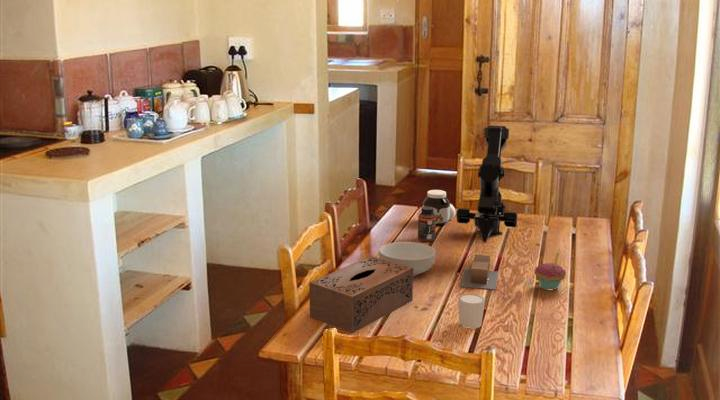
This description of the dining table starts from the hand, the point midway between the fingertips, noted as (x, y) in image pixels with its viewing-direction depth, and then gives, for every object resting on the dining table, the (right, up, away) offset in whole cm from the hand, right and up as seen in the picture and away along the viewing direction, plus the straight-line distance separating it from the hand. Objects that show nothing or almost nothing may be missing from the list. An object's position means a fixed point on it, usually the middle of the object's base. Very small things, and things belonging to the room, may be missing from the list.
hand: (484, 241), depth 230 cm
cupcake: (+16, -12, -17) cm, 26 cm away
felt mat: (-3, -10, -11) cm, 16 cm away
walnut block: (-1, -6, -5) cm, 8 cm away
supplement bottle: (-16, -1, +23) cm, 28 cm away
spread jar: (-10, +5, +43) cm, 44 cm away
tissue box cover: (-38, -17, -32) cm, 52 cm away
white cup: (-10, -19, -40) cm, 46 cm away
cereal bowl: (-24, -9, -6) cm, 27 cm away
